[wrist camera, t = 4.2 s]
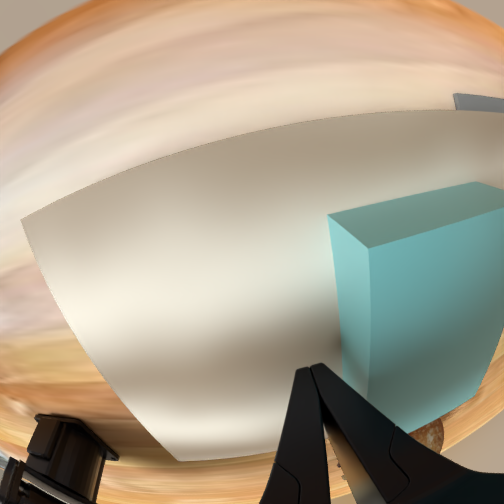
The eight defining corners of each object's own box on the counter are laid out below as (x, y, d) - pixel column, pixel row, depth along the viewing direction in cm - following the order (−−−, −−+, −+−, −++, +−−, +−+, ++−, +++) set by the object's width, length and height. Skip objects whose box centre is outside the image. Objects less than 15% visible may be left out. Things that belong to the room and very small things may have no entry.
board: (444, 334, 15) (476, 370, 11) (184, 409, 16) (178, 461, 12) (450, 112, 10) (509, 113, 6) (75, 194, 10) (20, 219, 7)
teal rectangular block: (449, 364, 11) (474, 395, 8) (343, 409, 11) (359, 453, 8) (475, 181, 7) (527, 198, 5) (326, 214, 7) (368, 248, 5)
